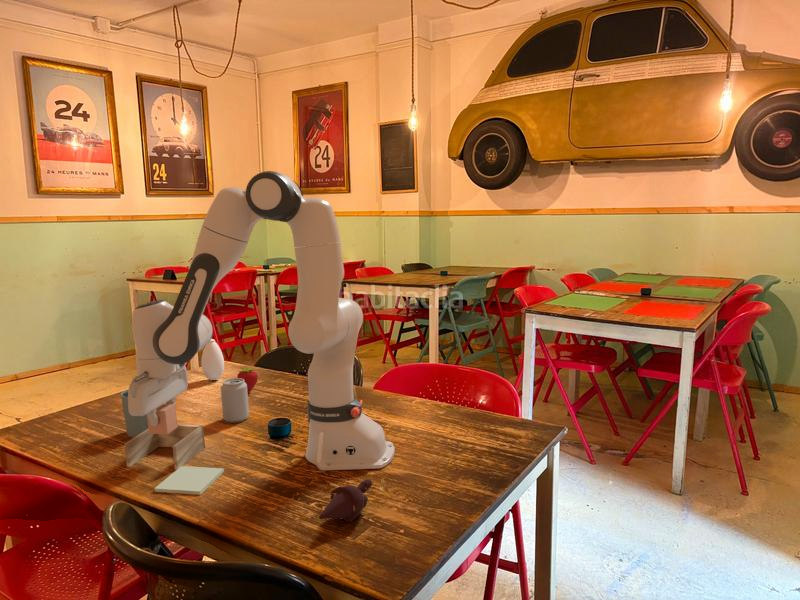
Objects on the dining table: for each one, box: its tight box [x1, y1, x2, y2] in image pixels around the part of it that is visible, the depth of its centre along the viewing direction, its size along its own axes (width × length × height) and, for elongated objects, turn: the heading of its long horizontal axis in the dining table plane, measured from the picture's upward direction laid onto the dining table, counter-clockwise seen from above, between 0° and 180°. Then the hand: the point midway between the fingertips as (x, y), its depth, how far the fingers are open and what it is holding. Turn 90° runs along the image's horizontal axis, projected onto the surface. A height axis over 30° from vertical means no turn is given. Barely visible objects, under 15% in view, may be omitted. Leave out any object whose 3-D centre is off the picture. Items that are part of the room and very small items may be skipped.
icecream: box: [318, 479, 373, 523], centre depth 111 cm, size 7×7×15 cm
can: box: [220, 377, 250, 424], centre depth 166 cm, size 8×8×12 cm
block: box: [147, 403, 179, 434], centre depth 139 cm, size 5×4×6 cm
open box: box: [124, 424, 206, 471], centre depth 142 cm, size 14×13×6 cm
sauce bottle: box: [200, 337, 225, 381], centre depth 205 cm, size 8×8×18 cm
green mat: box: [154, 465, 225, 496], centre depth 129 cm, size 11×11×1 cm
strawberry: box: [236, 365, 259, 393], centre depth 191 cm, size 6×8×10 cm
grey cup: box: [120, 389, 148, 439], centre depth 158 cm, size 10×10×12 cm
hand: (162, 420), depth 139 cm, fingers closed on block, 4 cm apart
